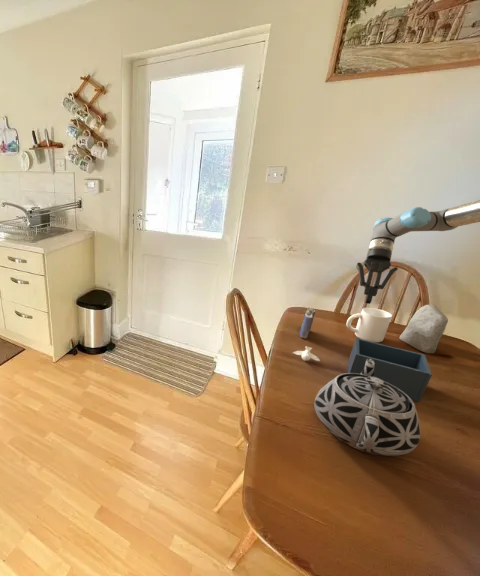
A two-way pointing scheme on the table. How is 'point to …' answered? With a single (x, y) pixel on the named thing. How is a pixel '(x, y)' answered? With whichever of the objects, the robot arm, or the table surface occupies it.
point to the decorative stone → (425, 329)
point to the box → (392, 366)
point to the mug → (370, 324)
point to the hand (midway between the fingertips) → (368, 301)
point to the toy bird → (306, 354)
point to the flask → (307, 323)
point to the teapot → (369, 413)
